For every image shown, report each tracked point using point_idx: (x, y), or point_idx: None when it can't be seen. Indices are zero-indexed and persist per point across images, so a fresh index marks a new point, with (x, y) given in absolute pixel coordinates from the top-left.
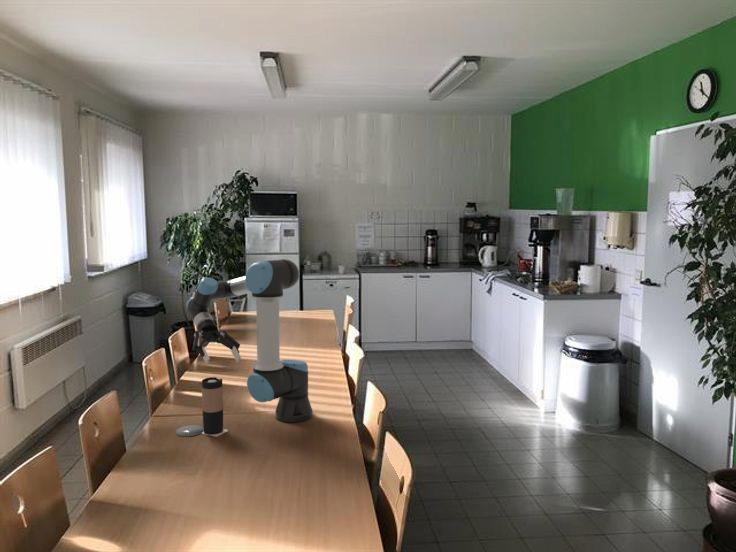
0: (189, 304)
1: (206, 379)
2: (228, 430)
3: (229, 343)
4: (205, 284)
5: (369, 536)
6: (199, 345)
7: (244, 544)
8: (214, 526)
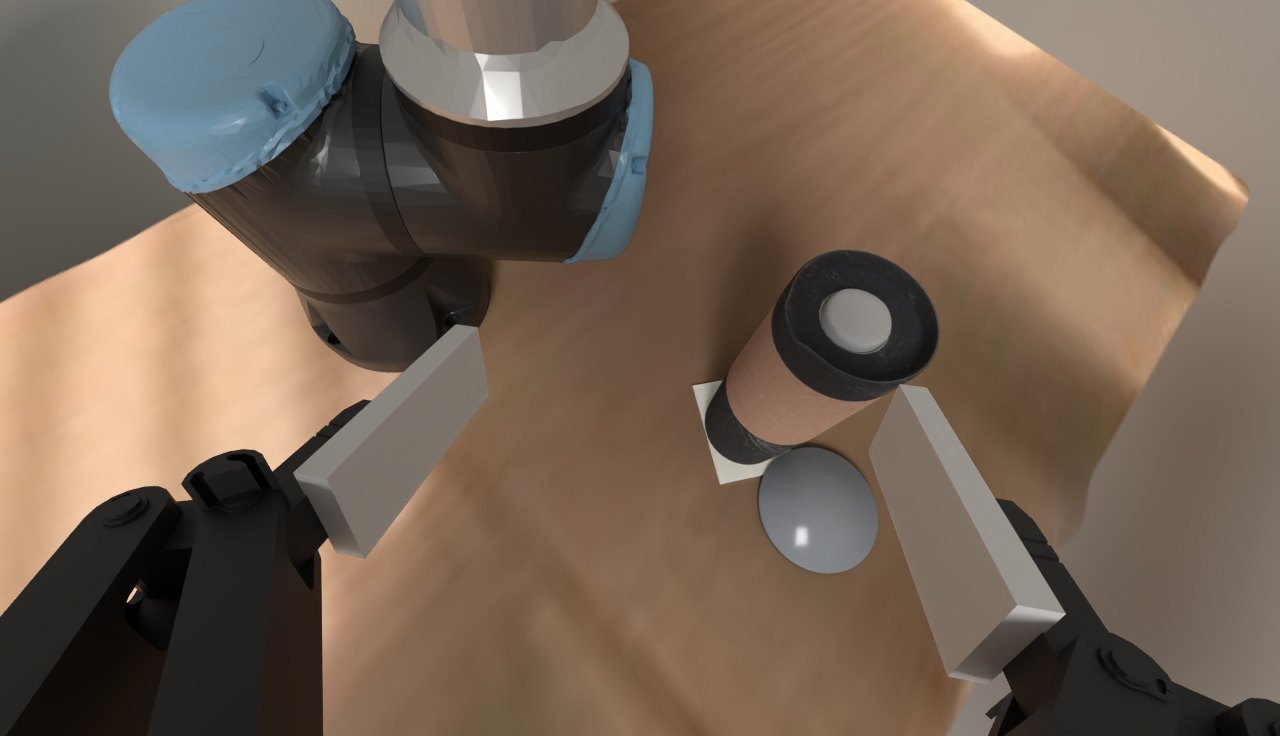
0: None
1: (874, 382)
2: (694, 385)
3: (274, 603)
4: None
5: None
6: (1173, 714)
7: (967, 3)
8: (989, 57)
